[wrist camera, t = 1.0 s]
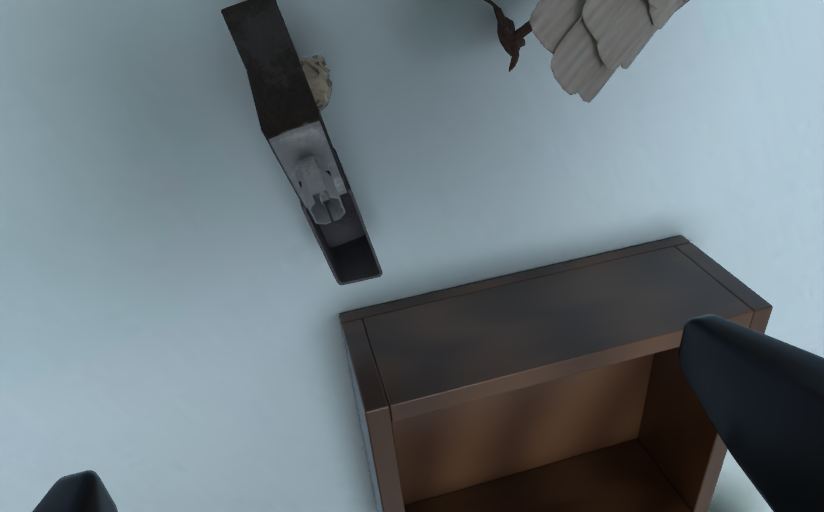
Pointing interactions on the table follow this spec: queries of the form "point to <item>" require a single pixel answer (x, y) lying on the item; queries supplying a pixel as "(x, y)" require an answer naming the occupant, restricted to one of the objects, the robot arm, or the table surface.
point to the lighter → (302, 135)
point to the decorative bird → (587, 37)
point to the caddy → (545, 387)
